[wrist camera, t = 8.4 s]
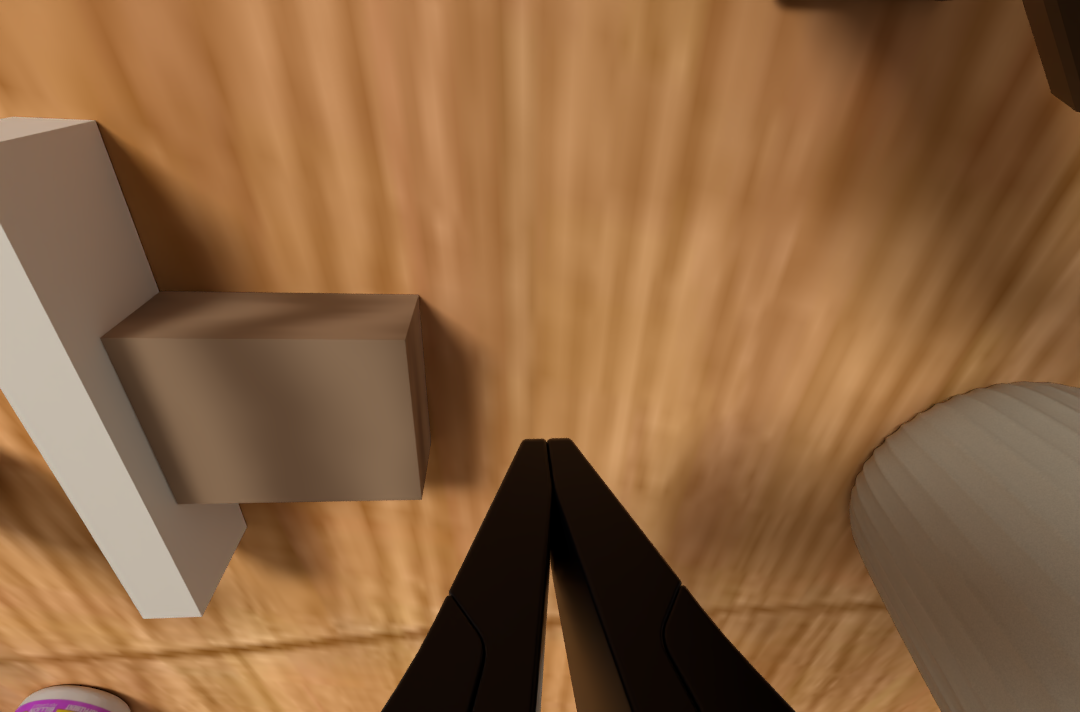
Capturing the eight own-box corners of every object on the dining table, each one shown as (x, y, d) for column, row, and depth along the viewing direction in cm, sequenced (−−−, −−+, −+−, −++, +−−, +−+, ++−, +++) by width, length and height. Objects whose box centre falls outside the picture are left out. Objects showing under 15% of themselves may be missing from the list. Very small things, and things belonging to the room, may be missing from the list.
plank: (95, 120, 17) (-38, 149, 13) (247, 527, 28) (202, 616, 23) (12, 116, 17) (-150, 145, 13) (197, 528, 27) (143, 618, 23)
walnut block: (419, 291, 21) (404, 340, 18) (431, 437, 26) (421, 499, 22) (165, 287, 21) (99, 338, 17) (221, 439, 25) (177, 504, 21)
